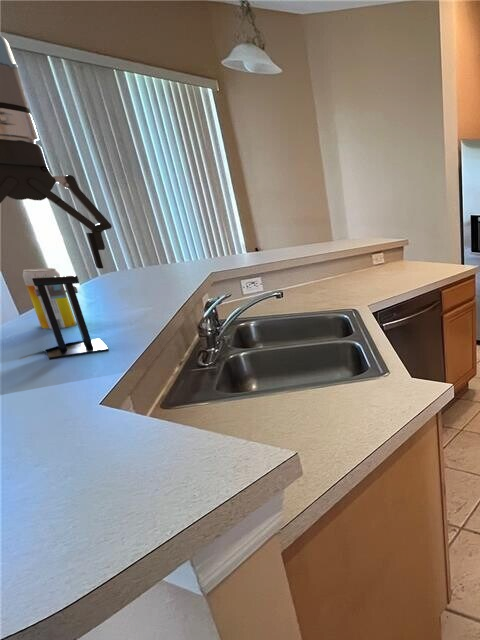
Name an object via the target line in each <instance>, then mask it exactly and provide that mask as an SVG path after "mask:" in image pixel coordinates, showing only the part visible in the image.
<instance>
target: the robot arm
mask: <svg viewBox="0 0 480 640" xmlns="http://www.w3.org/2000/svg"><path fill="white" fill-rule="evenodd" d="M18 68H19V66H18V64H17V63H16V60H15V57H14V54H13V51H12V50H11V47H10V44H9V42H8V41H7V39H6V38H5V37H4V36H3V35H1V34H0V204H1V203H3V201H4V200H5V199H6V198H7V197H8V198H9V199H12V200H17V201H24V200H32V201H43V200H45V199H47V200H49V201H50V202H52V203H53V204H54V205H56V206H57V207H59V208H60V209H61V210H62V211H64V212H65V213H67V214H68V215H69V216H71V217H72V218H73V219H75V220H76V221H78V222H79V224H80V223H81V225H83V226H84V227H86V228H87V229H88V230H90V231H86V232H85V233H86V237H87V241H88V244H89V247H90V252H91V254H92V258H93V261H94V264H95V267H96V268H97V269H100V270H101V269H104V265H103V262H102V258H101V255H100V251H105V249H106V245H105V242H104V239H103V235H102V233H103V231H107V230H110V229H112V227H113V226H112V224H111V223H110V222H109V220H107V218H106V217H105V216H104V214H102V212H101V211H100V210H99V209H98V207H96V206H95V204H93V202H92V201H91V200H90V198H88V197H87V195H86V194H85V193H84V192H83V191H82V190H81V188H80V187H79V185H78V182H77V180H76V178H75V176H74V175H72V174H66V175H53V174H52V173H51V172H50V170H49V168H48V164H47V161H46V158H45V154H44V151H43V147H42V146H40V144H38V143H36V141H39V140H40V138H39V135H38V131H37V129H36V125H35V122H34V120H33V116H32V113H31V110H30V107H29V106H30V105H29V103H28V99H27V95H26V93H25V89H24V86H23V82H22V78H21V76H20V72H19V69H18ZM56 183H57V184H60V185H61V186H62V187H63V188H64V189H68V190H69V191H70V193H71V194H72V195H73V196H74V197H75V199H76V200H78V201H79V203H80V204H81V205H82V206H83V207H84V209H86V211H87V212H88V213H89V214H90V215H91V216H92V217H93V218H94V219H95V220H96V222H97V223H94V222H93V221H91V220H90V219H89V218H88V217H86V216H84V215H83V214H82V213H81V212H80V211H78V210H77V209H76V208H74V207H73V206H72V205H70V204H69V203H68V202H66V201H64V200H63V199H62V198H61V197H60V196H58V195H57V194H56V193H54V192H53V191H52V190H53V188H54V187H55V185H56Z"/></svg>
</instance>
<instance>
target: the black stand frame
mask: <svg viewBox="0 0 480 640" xmlns="http://www.w3.org/2000/svg"><path fill="white" fill-rule="evenodd" d="M63 286H64V289H65V292H66V295H67V298H68V301H69V304H70V307H71V310H72V313H73V316H74V319H75V322H76V325H77V327H78V330H79V333H80V336H81V339H82V340H79V341H72V342H71V341H70V342H67V343H65V340H64V337H63V333H62V331H61V328H59V325H58V323H57V320H56V317H55V314H54V311H53V308H52V305H51V303H50V300H49V297H48V294H47V291H46V288H45V286H37V289H34V290H35V293H36V295H37V296H40V297H41V300H42V303H43V306H44V308H45V311H46V314H47V317H48V320H49V322H50V325H51V328H52V329H51V331H52V334H53V337H54V339H55V342H56V346H53V347H50V348H47V349H45V353H46V355H47V358H48V360H49V361H51V360H57V359H65V358H71V357H77V356H78V357H79V356H83V355H90V354H97V353H103V352H109V351H110V350H109V348H108V347H107V345H106V344H105V343H104V341H103V340H101V338H94V339H91V336H90V332H89V330H88V326H87V322H86V320H85V318H84V314H83V311H82V309H81V305H80V302H79V299H78V296H77V294H78V293H79V291H78V288H77V286H76V285H74V284H63Z"/></svg>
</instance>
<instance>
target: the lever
mask: <svg viewBox="0 0 480 640" xmlns="http://www.w3.org/2000/svg"><path fill="white" fill-rule="evenodd" d="M32 280H33V283H34V286H46V285H47V288H48V291H49V294H50V297H51V299H56V298H66V295H67V292H66V289H65V286H64V284H73V285H74V284H76V285H77V284H80V279H79V277H78V275H65V276H64V275H63V276H61V275H60V277H44V278H32ZM63 286H64V287H63ZM64 289H65V290H64ZM65 292H66V293H65Z"/></svg>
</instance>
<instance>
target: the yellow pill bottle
mask: <svg viewBox="0 0 480 640" xmlns="http://www.w3.org/2000/svg"><path fill="white" fill-rule="evenodd" d="M22 271H23V273H22V278H23V281H24V284H25V287H26V290H27V292H28V294H29V297H30V300H31V303H32V305H33V308H34V311H35V313H36V317H37V319H38V322H39V325H40V328H41V329H43V330H44V329H45V330H52V328H51V325H50V322H49V320H48V317H47V314H46V311H45V308H44V306H43V303H42V300H41V297H40V296H37V295H36V293H35V290H34V289H37V286H34V283H33V280H32V278H44V277H61V275H60V273H59V272H58V271H57V270H56V268H53V267H51V268H50V267H48V268H47V267H44V268H43V267H41V268H40V267H39V268H28V269H23V270H22ZM63 287H64V290H65V293H66V298H56V299H51V297H50V294H49V291H48V288H47V285H46V286H45V288H46V291H47V294H48V297H49V300H50V303H51V305H52V308H53V311H54V314H55V317H56V320H57V323H58V325H59V328H60V329H65V328H69V327H75V326H76V325H77V321H76V318H75V315H74V312H73V309H72V306H71V303H70V300H69V297H68V294H67V291H66V289H65V286H64V285H63Z"/></svg>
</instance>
